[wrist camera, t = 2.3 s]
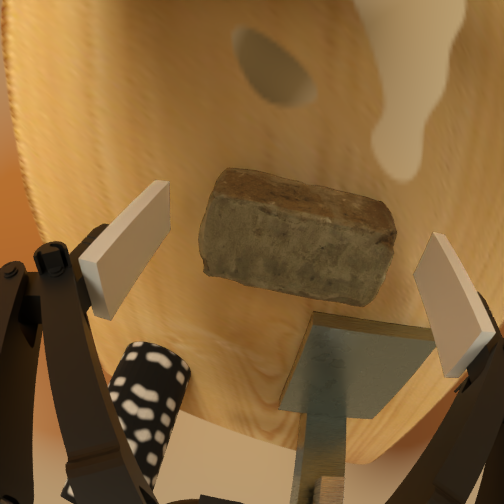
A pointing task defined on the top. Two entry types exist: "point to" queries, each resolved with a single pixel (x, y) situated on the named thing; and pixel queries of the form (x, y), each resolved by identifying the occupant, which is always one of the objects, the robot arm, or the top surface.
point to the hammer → (329, 490)
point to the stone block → (296, 238)
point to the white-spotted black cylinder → (146, 403)
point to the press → (344, 386)
